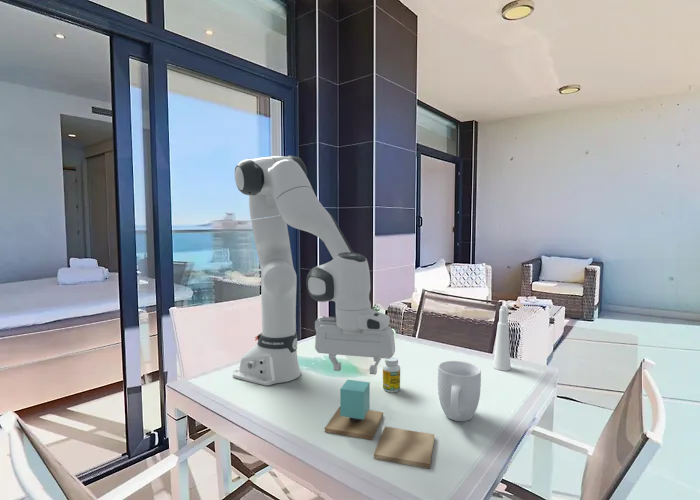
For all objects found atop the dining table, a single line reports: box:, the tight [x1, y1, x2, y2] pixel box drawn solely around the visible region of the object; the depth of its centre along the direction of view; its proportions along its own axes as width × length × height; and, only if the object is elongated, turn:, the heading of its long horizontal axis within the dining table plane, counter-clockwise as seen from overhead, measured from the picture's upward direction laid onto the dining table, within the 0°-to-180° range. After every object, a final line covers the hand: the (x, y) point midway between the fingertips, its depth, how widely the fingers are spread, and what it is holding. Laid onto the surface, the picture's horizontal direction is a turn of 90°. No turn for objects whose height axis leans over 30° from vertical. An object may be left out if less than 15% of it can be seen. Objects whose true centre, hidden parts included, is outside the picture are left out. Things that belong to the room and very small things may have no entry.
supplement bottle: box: [382, 356, 401, 393], centre depth 121 cm, size 5×5×10 cm
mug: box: [437, 360, 482, 422], centre depth 103 cm, size 15×11×13 cm
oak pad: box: [373, 426, 436, 469], centre depth 90 cm, size 12×12×1 cm
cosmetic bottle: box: [492, 305, 512, 372], centre depth 138 cm, size 6×6×22 cm
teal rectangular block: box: [339, 379, 371, 420], centre depth 100 cm, size 6×6×7 cm
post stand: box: [324, 406, 384, 441], centre depth 100 cm, size 12×12×9 cm
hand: (355, 371), depth 99 cm, fingers open, 8 cm apart
